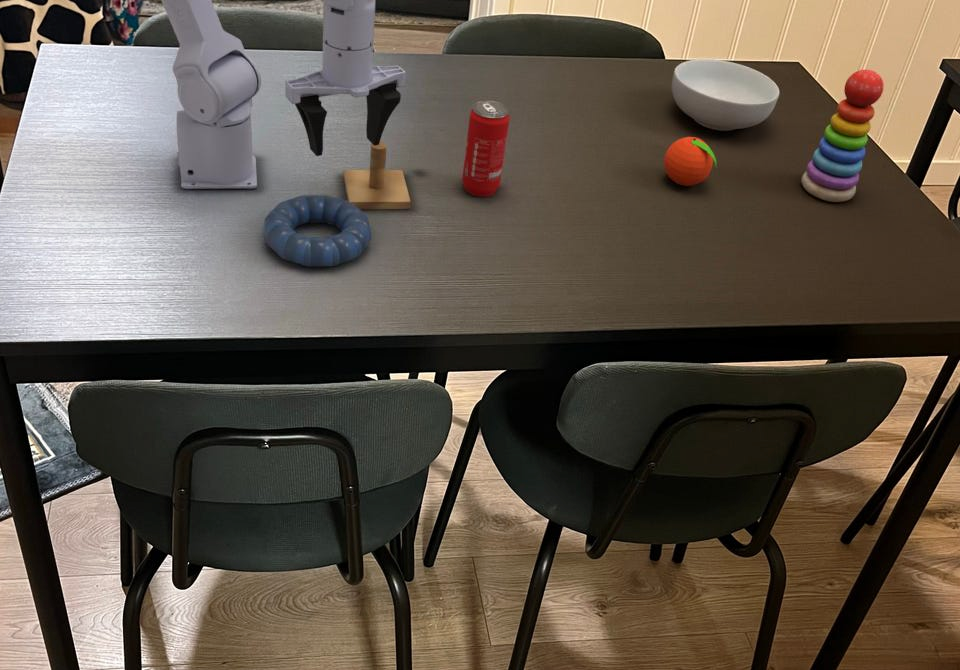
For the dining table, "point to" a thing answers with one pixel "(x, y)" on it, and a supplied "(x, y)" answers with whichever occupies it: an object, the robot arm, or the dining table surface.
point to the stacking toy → (844, 141)
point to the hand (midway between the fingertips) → (344, 146)
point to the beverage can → (485, 148)
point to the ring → (317, 249)
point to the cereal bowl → (723, 94)
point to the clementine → (688, 161)
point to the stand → (377, 184)
